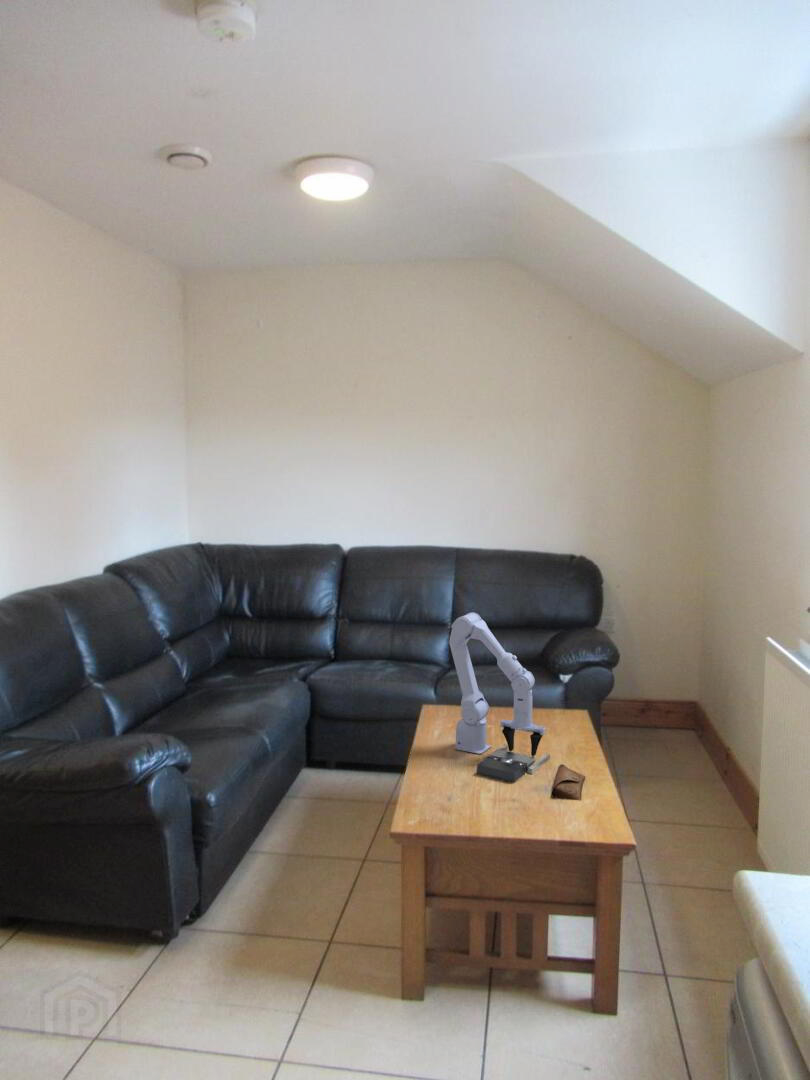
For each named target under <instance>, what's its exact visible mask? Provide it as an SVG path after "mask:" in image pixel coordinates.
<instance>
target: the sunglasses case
mask: <svg viewBox="0 0 810 1080" xmlns="http://www.w3.org/2000/svg"><path fill="white" fill-rule="evenodd" d="M555 773H556V774H555V776H554V780H553V784H552V787H551V796H552V798H553V799H554V798H555V799H561V800H570V801H571V800H572V801H582V792H583V791H582V790H583V785H584V781H585V780H586V778H585V777H586V775H583V774H581V773H580V772H577V771H576V770H573V769H571V768H569V767H567V766H566V765H565V764H562V763H561V764H559V766H558V767H557V770H556V772H555Z"/></svg>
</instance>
